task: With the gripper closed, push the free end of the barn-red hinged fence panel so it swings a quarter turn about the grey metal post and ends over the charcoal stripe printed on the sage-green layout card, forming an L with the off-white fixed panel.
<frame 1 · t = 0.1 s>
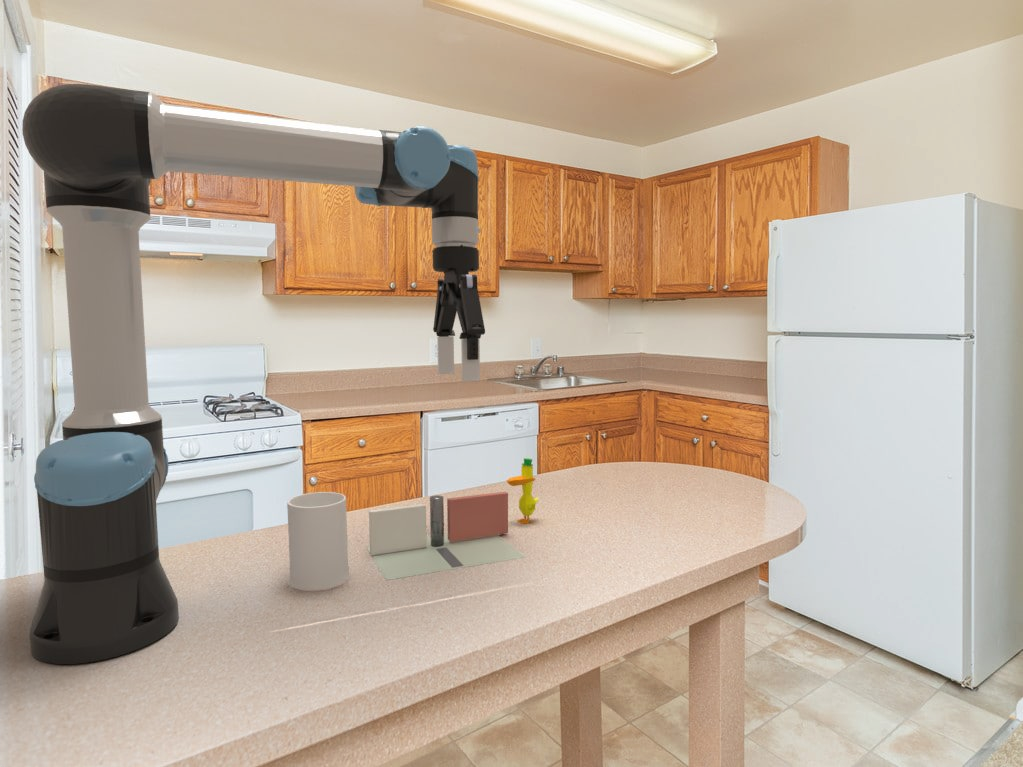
hand: (457, 377, 107), 28 cm above the counter, fingers open, 13 cm apart
mug: (315, 577, 95), on the counter
red panel: (478, 516, 109), point 4 cm above the counter, hinge at 0.0°
toy figure: (523, 524, 119), on the counter
post: (437, 544, 107), resting on layout card
layout card: (443, 553, 104), on the counter
fixed panel: (398, 550, 104), resting on layout card
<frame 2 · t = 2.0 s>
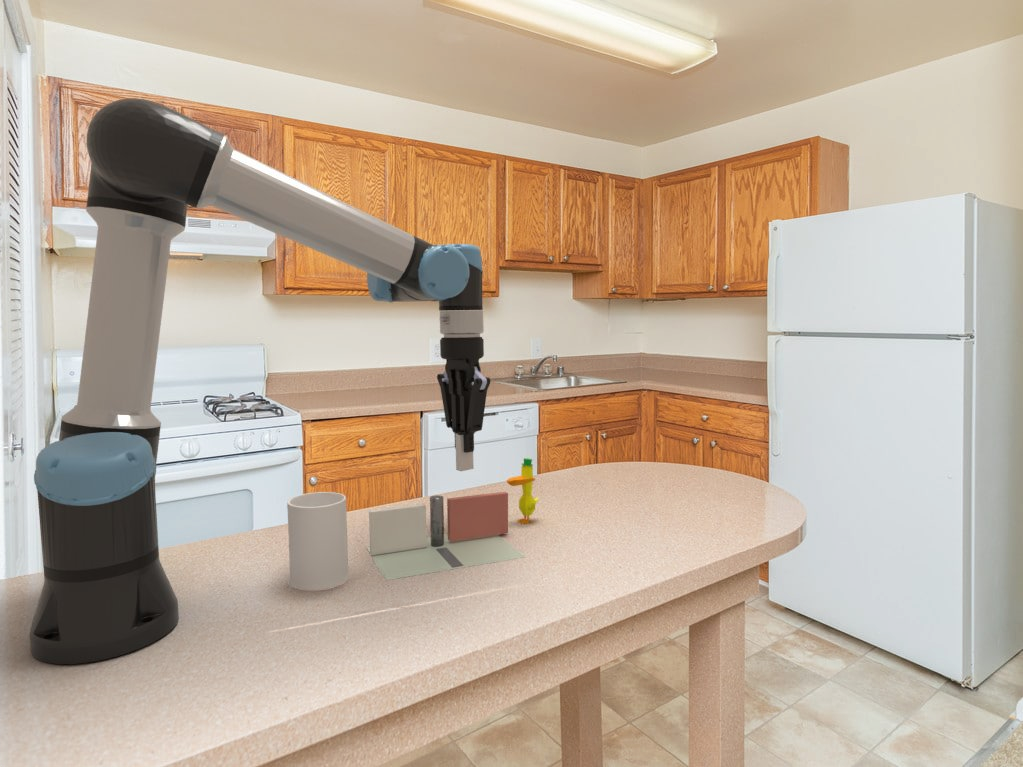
hand: (464, 469, 114), 11 cm above the counter, fingers closed
nothing on the counter moved.
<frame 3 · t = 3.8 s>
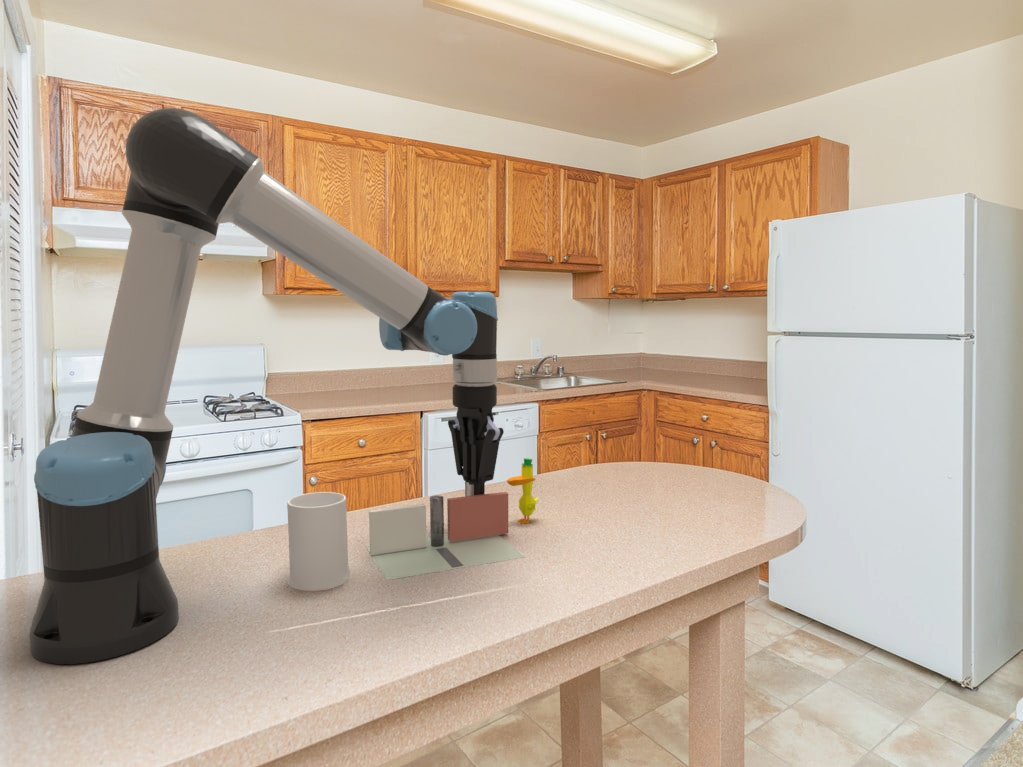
hand: (474, 518, 112), 3 cm above the counter, fingers closed
red panel: (478, 516, 109), point 4 cm above the counter, hinge at 0.6°, touching gripper
everything else where it was.
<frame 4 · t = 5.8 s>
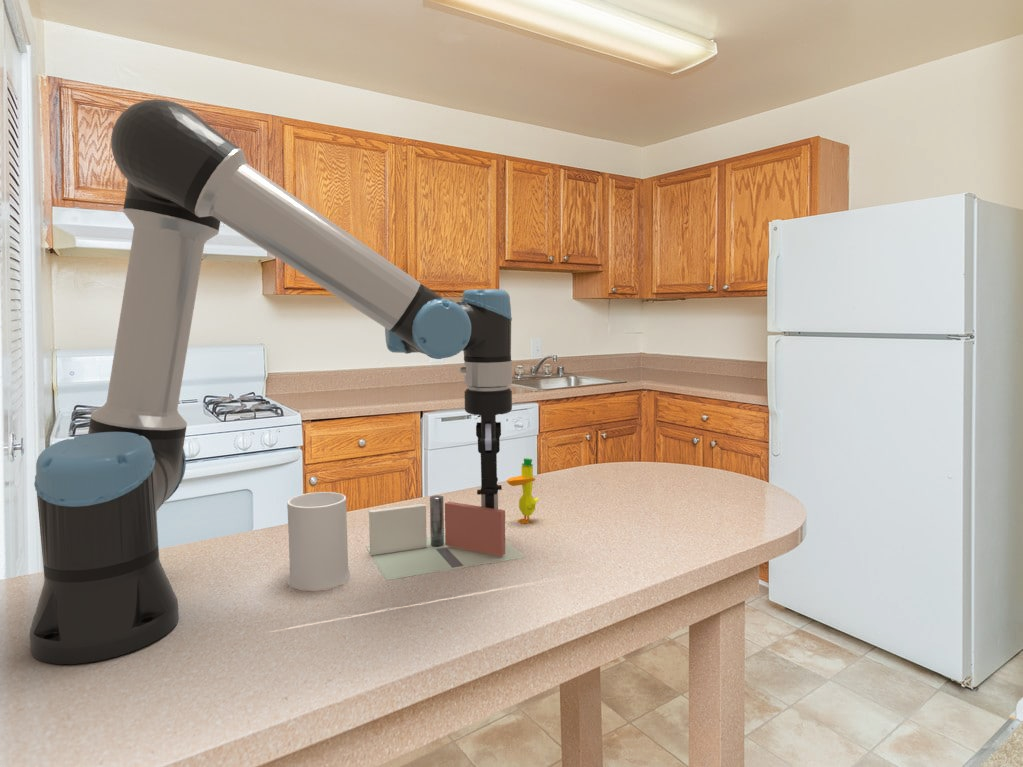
hand: (490, 531, 105), 3 cm above the counter, fingers closed
red panel: (474, 528, 103), point 4 cm above the counter, hinge at 52.0°, touching gripper
everything else where it was.
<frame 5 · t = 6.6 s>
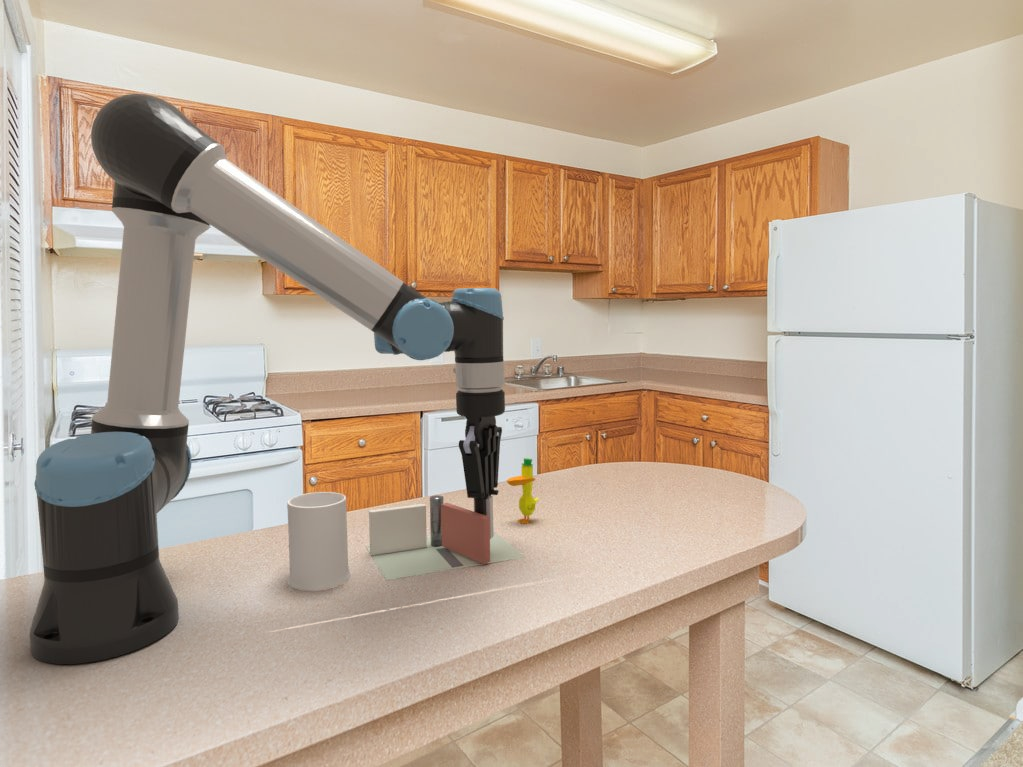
hand: (484, 536, 102), 3 cm above the counter, fingers closed
red panel: (464, 532, 101), point 4 cm above the counter, hinge at 70.4°, touching gripper
everything else where it was.
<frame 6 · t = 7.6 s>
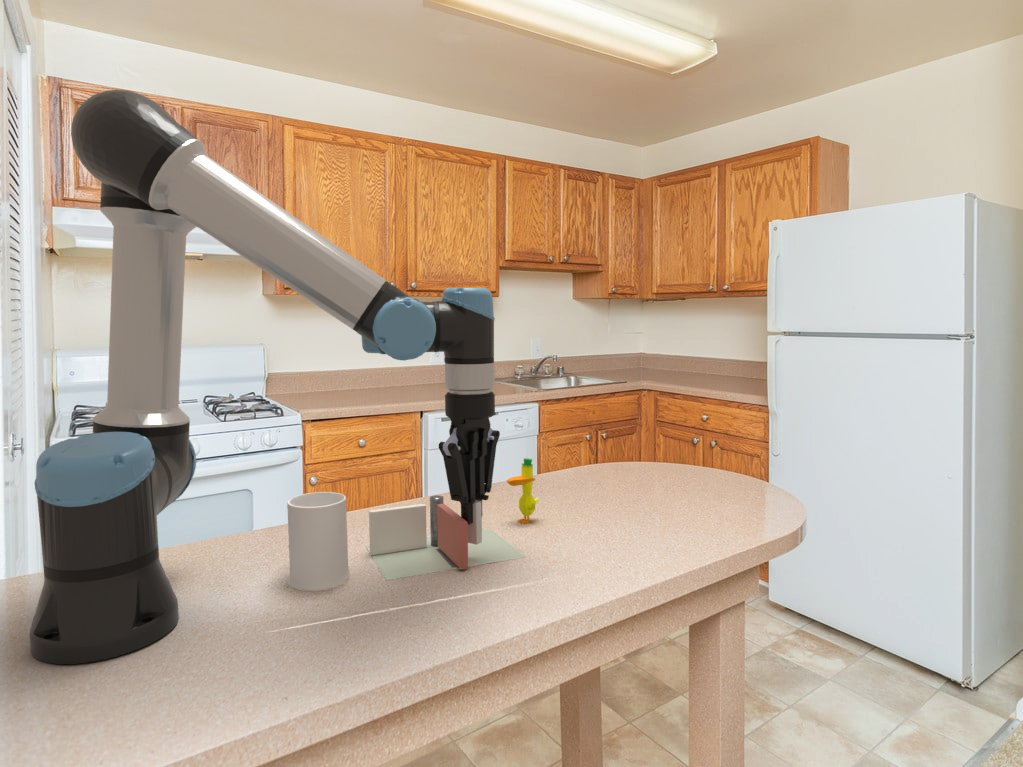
hand: (472, 541, 100), 3 cm above the counter, fingers closed
red panel: (451, 534, 100), point 4 cm above the counter, hinge at 88.6°, touching gripper
everything else where it was.
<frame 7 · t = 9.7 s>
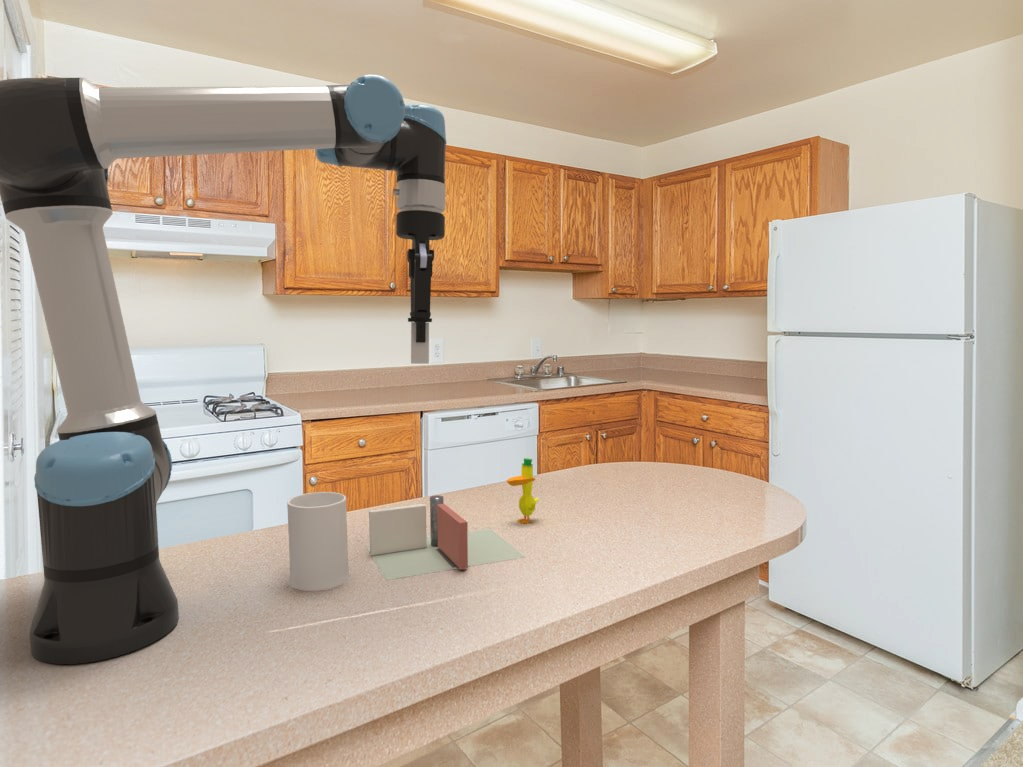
hand: (419, 363, 103), 30 cm above the counter, fingers closed
red panel: (451, 534, 100), point 4 cm above the counter, hinge at 88.8°
everything else where it was.
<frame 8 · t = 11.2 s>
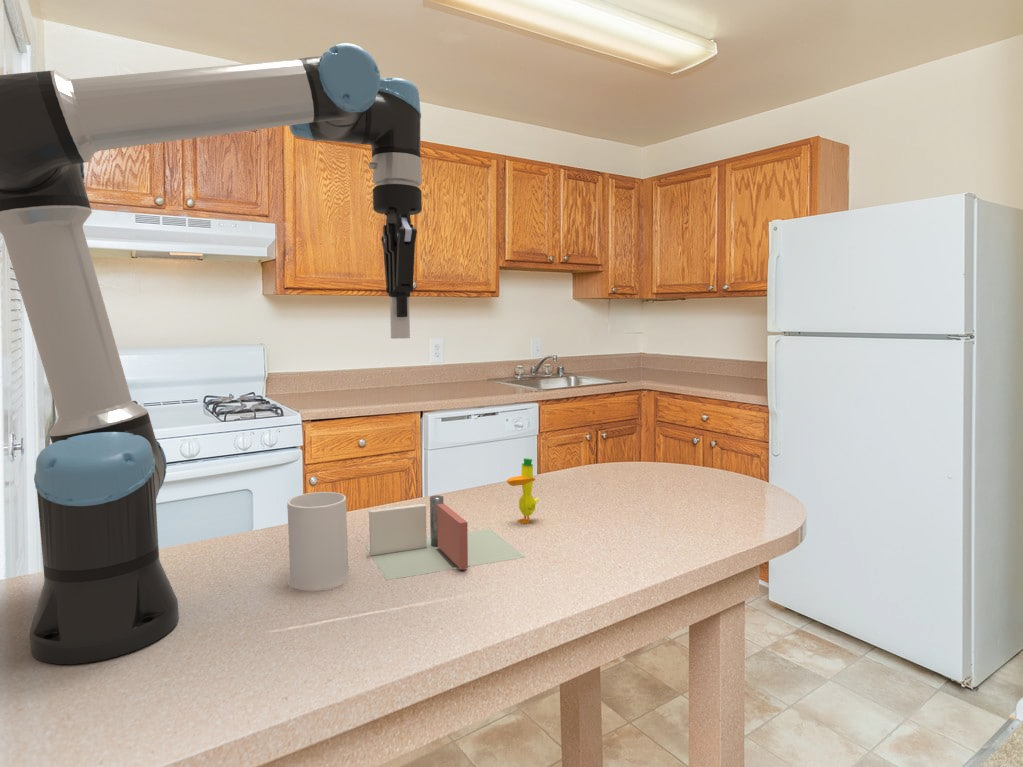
hand: (400, 338, 103), 34 cm above the counter, fingers closed
nothing on the counter moved.
at the end: red panel at +89° (first picture: +0°) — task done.
